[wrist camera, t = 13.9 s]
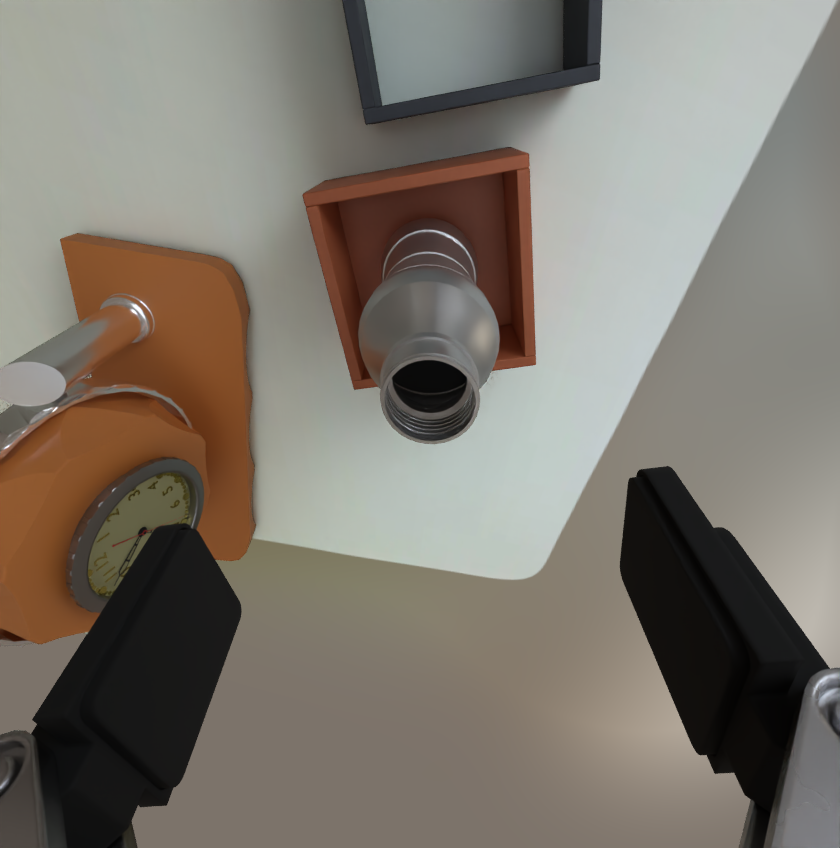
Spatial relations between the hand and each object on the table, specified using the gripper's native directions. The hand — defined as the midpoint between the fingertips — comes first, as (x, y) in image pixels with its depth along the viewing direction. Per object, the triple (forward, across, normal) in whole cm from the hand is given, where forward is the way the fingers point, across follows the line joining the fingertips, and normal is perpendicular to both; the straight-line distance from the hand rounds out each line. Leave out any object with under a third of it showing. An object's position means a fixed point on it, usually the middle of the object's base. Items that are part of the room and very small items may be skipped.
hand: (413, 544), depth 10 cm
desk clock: (+28, +23, +11) cm, 38 cm away
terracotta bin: (+28, 0, +1) cm, 28 cm away
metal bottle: (+28, 0, +1) cm, 28 cm away
